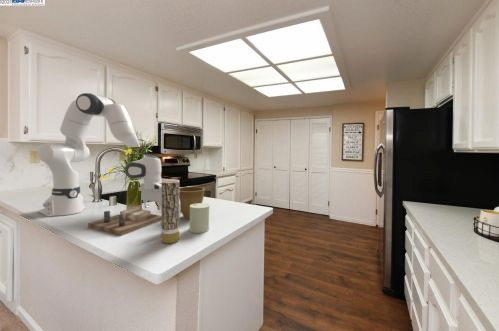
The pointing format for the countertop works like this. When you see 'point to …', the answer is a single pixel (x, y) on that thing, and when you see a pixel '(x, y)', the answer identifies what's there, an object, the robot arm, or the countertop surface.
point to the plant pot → (190, 198)
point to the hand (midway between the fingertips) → (153, 209)
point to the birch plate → (136, 214)
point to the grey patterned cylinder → (170, 211)
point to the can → (199, 217)
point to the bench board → (125, 228)
